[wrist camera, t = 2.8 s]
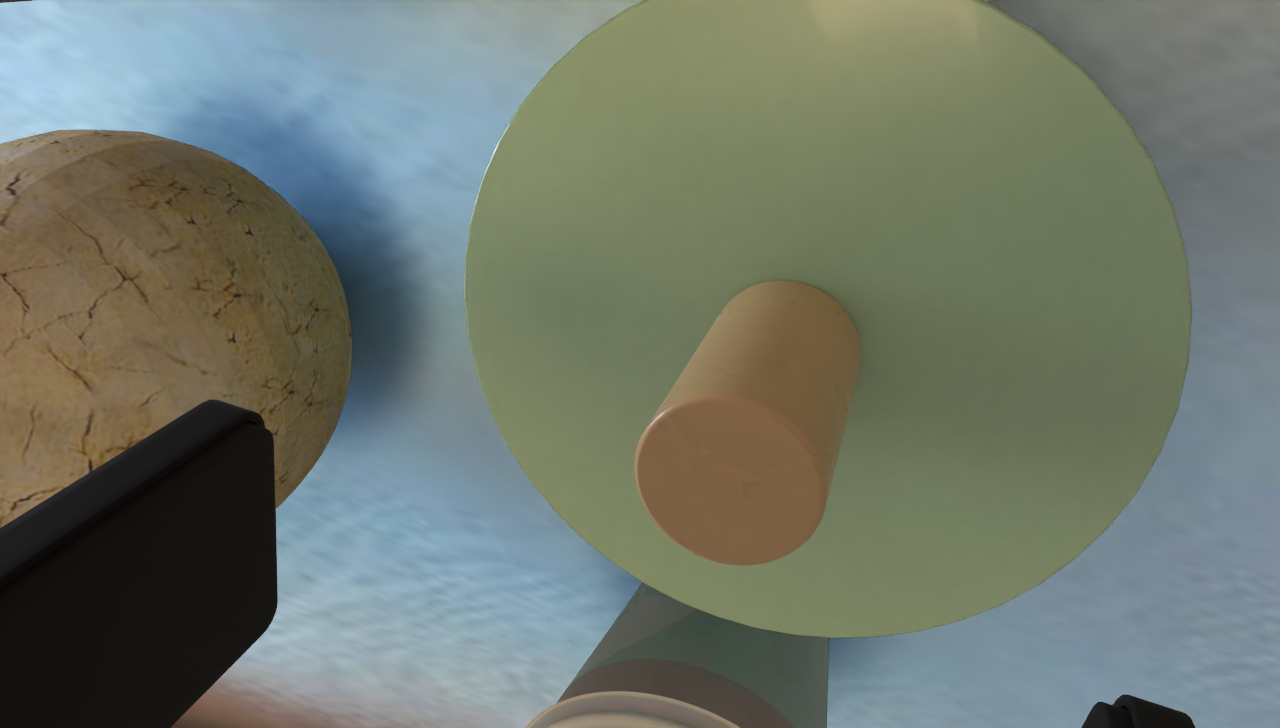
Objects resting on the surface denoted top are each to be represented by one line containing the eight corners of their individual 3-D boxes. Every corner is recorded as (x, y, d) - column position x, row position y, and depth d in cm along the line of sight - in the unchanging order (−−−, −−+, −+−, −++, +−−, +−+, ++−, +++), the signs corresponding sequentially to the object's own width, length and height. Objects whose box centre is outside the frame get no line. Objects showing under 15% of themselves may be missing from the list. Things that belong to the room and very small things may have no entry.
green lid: (1330, 49, 14) (1548, 118, 9) (1024, 687, 20) (1045, 953, 15) (518, -105, 17) (312, -122, 12) (465, 499, 23) (315, 669, 18)
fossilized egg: (405, 485, 35) (79, 805, 22) (124, 365, 37) (-324, 594, 24) (457, 168, 29) (53, 353, 16) (119, 45, 31) (-480, 122, 18)
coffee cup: (741, 430, 30) (623, 693, 20) (926, 610, 31) (906, 958, 20) (581, 561, 34) (415, 836, 24) (746, 718, 35) (654, 1051, 24)
